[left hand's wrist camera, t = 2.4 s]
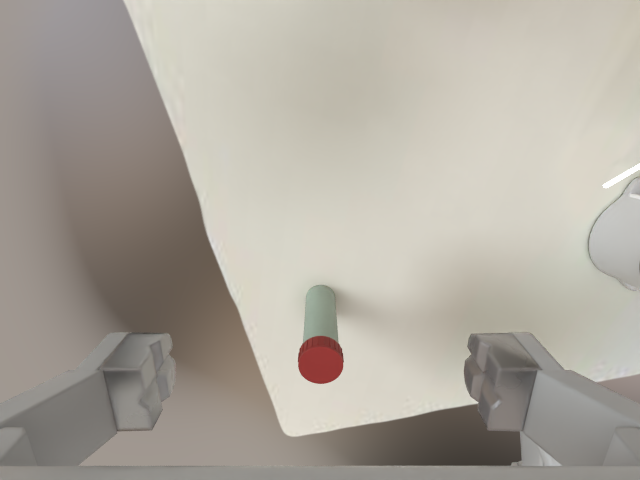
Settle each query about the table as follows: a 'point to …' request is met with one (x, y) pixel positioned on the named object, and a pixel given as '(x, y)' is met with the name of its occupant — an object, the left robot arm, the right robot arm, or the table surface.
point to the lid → (320, 359)
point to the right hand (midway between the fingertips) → (515, 433)
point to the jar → (320, 313)
